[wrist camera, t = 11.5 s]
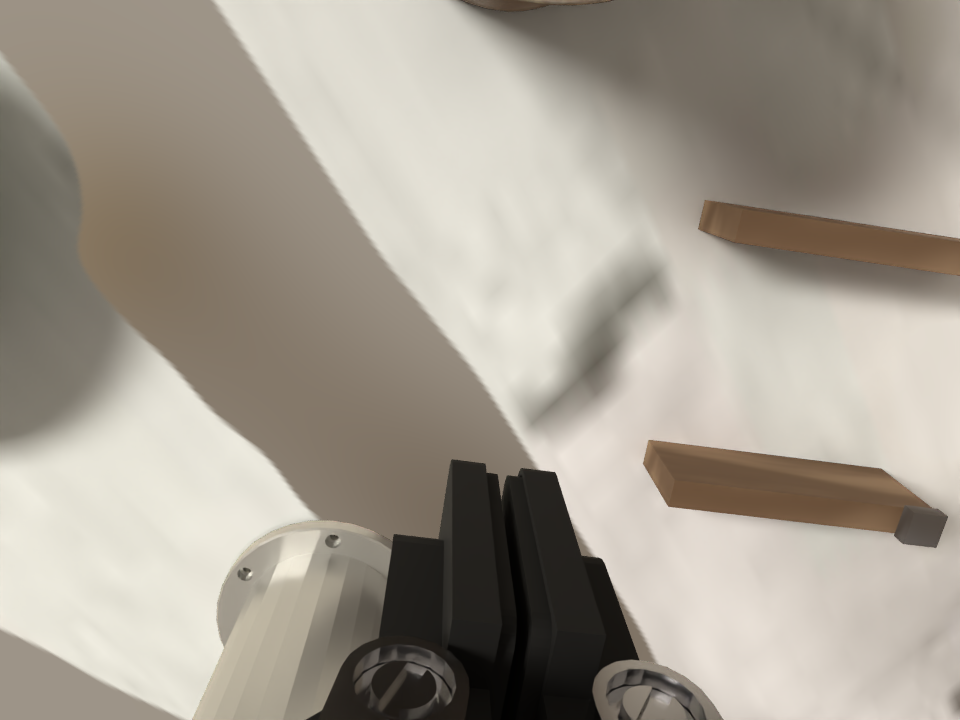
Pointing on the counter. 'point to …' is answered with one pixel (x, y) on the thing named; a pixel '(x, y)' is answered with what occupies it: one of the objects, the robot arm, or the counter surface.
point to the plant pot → (527, 4)
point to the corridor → (791, 481)
